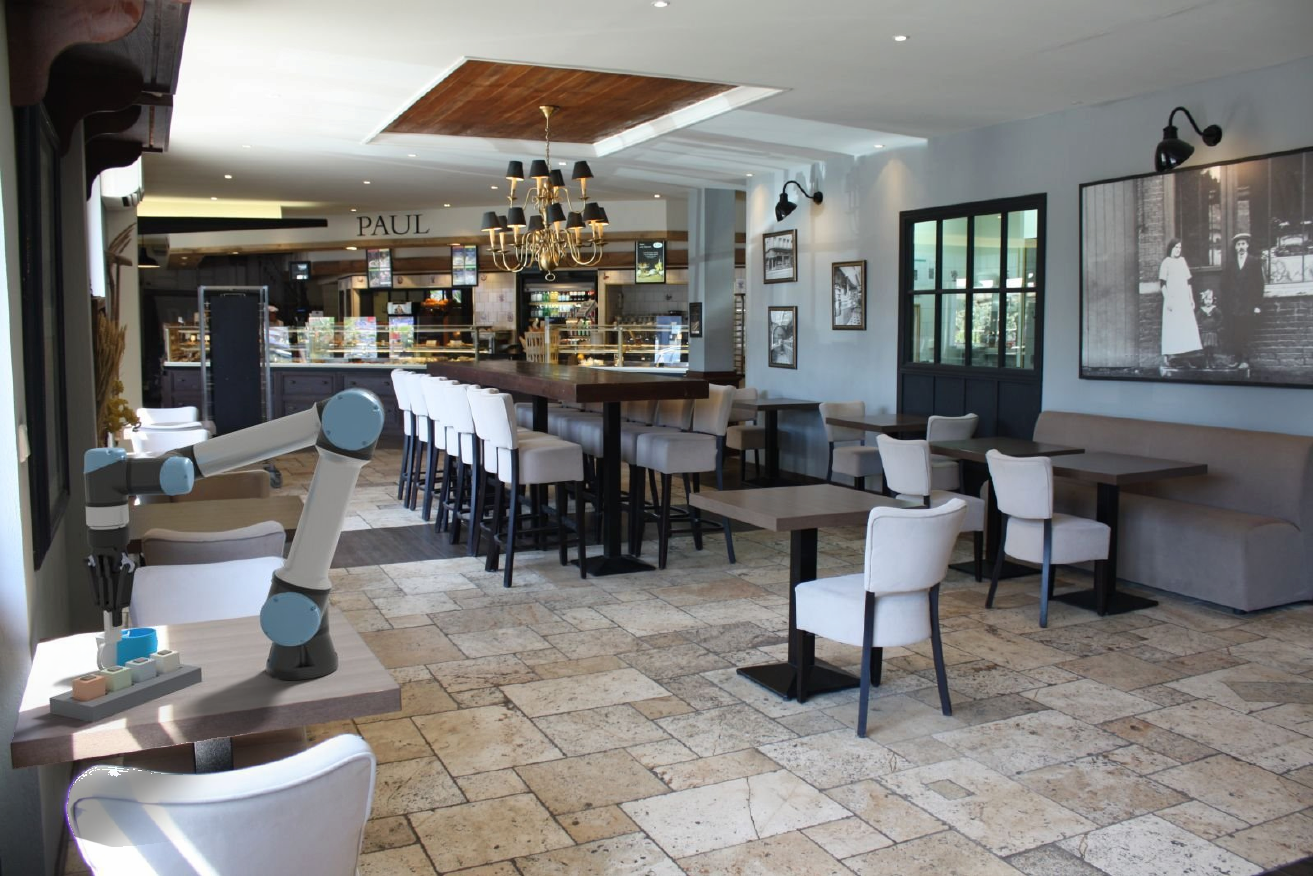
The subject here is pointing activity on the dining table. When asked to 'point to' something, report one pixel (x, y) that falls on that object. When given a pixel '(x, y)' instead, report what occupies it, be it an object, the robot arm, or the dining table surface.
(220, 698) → the dining table surface
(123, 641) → the mug
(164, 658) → the key ivory
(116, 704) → the grey board
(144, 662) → the key blue
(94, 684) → the orange hollow cube
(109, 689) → the pale green square block
